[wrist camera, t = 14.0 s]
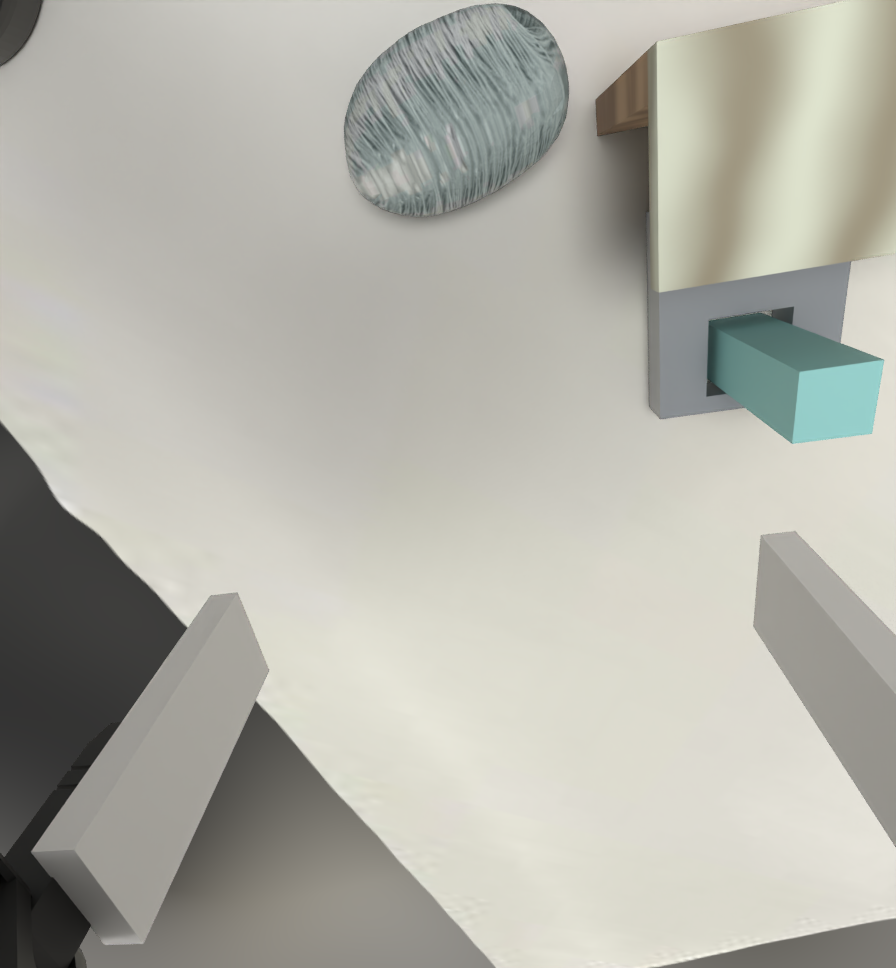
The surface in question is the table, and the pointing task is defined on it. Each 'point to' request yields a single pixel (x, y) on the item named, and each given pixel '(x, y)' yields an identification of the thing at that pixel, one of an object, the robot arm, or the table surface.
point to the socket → (686, 313)
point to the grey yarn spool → (455, 110)
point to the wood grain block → (766, 143)
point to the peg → (794, 377)
